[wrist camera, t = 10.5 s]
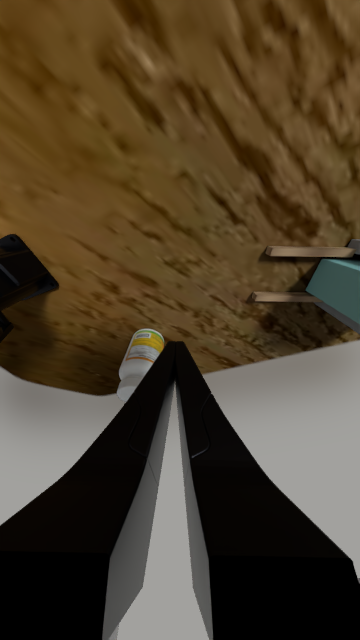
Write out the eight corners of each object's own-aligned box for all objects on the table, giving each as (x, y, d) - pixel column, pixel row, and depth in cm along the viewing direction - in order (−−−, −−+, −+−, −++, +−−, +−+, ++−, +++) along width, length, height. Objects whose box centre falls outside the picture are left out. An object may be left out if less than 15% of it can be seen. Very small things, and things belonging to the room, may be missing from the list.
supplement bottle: (151, 355, 28) (139, 411, 20) (126, 340, 26) (102, 396, 18) (170, 339, 26) (165, 395, 18) (144, 321, 24) (125, 376, 16)
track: (251, 296, 21) (255, 301, 20) (267, 246, 17) (272, 247, 16) (316, 298, 21) (323, 302, 20) (347, 247, 17) (357, 249, 16)
